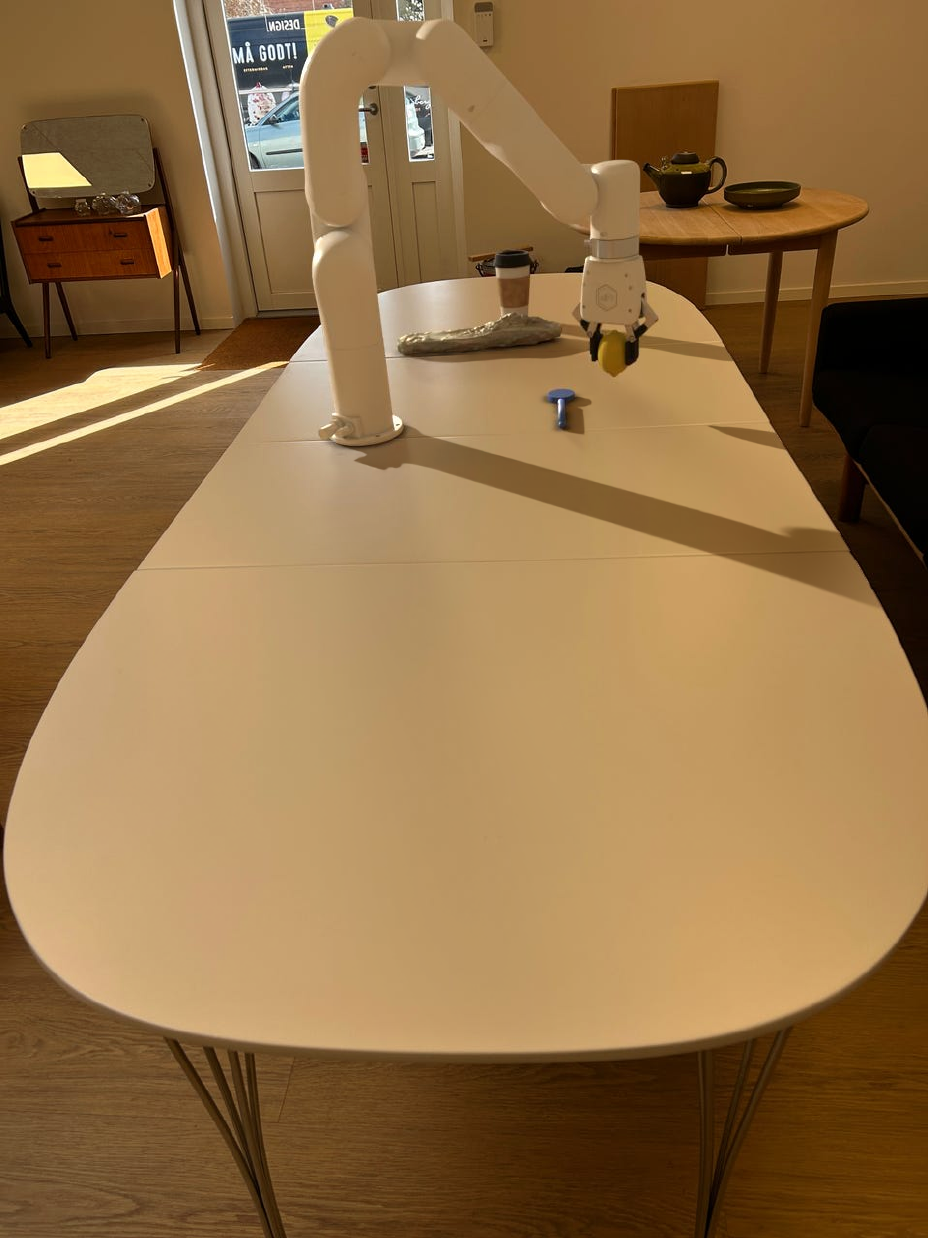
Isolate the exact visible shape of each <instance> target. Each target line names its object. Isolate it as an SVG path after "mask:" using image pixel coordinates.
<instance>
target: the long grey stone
mask: <svg viewBox="0 0 928 1238" xmlns="http://www.w3.org/2000/svg"><path fill="white" fill-rule="evenodd" d="M562 332H563V327H562V323H559V322H557V321H553V320H548V319H544V318H541V317H539V316H532V315H531V316H529V314H528V315H522V316H521V315H517V314H516V313H515V312H514V313H509V314H507V315H505V316H503V317H502V316H500V318H498V320H491V321H488V323H485V324H482V325H480V326H475V327H474V328H473V327H463V328H457V329H449V330H439V331H427V332H417V333H414V332H412V333H407V334H406V335H403V336H402V337H400V338H398V339H397V343H396V348H397V351H398V352H399V353H400V354H401V355H403V356H406V355H407V356H408V355H411V354H417V353H418V354H419V353H420V354H424V353H450V352H468V351H477V350H482V349H487V348H493V347H494V348H495V347H499V348H505V347H508V348H509V347H514V346H517V345H520V346H521V345H526V346H534V345H536V344H538V343H539V342H544V341H550V340H552V339H556V338H559V337H561V336H562Z"/></svg>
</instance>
